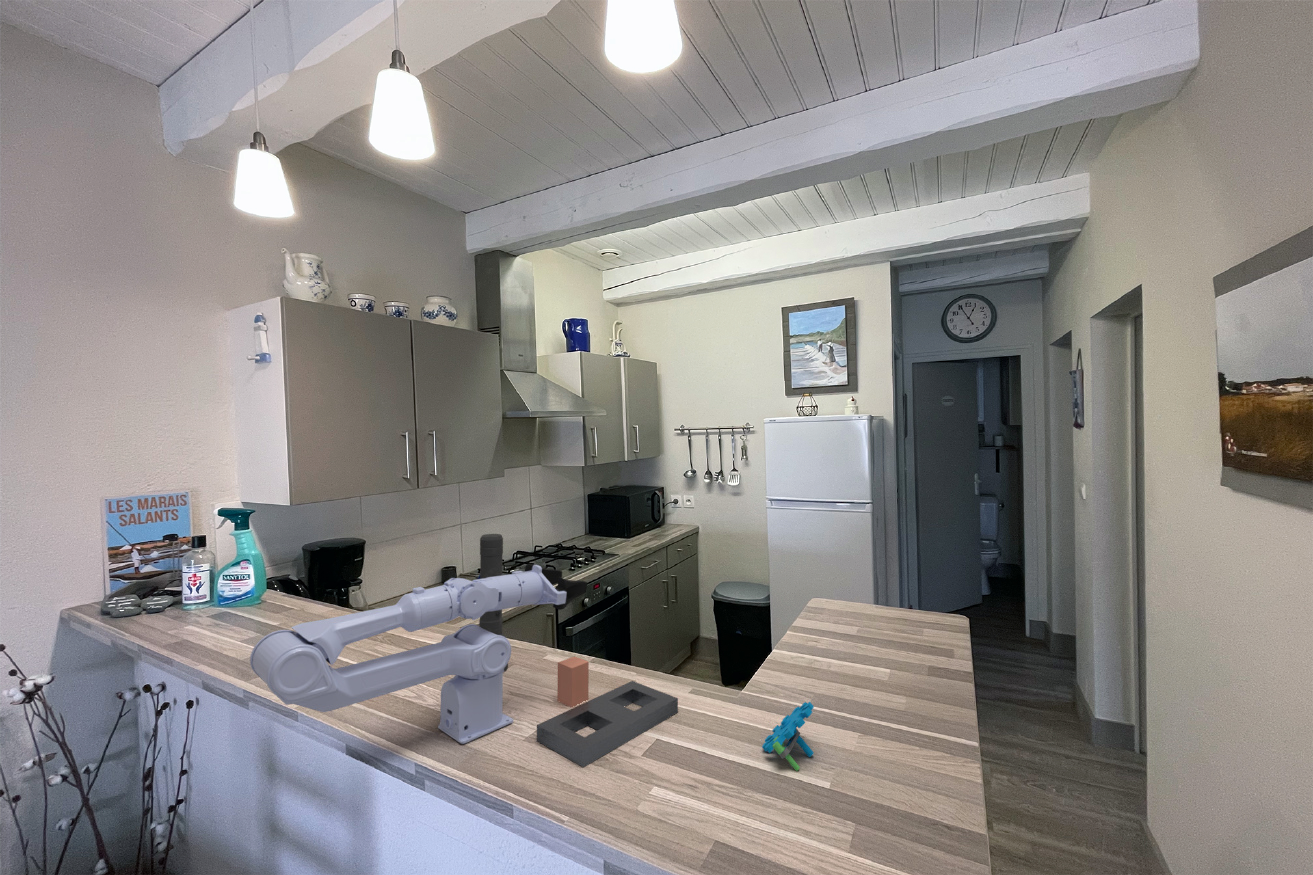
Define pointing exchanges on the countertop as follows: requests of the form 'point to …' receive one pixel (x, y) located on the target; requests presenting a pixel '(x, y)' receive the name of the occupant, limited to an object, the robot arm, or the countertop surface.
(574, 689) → the square block
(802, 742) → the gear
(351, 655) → the countertop surface
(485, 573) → the flashlight
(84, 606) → the countertop surface
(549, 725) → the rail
